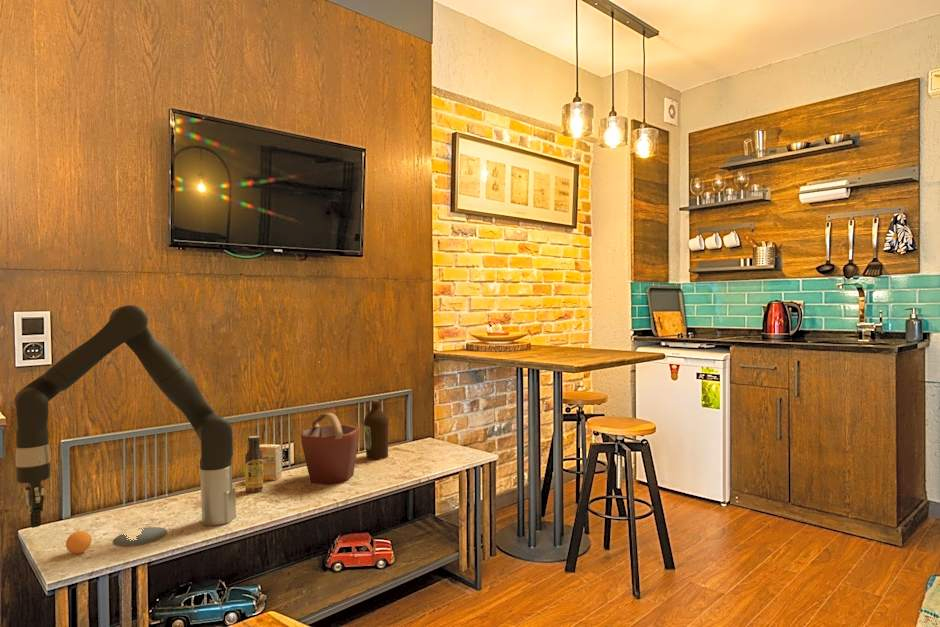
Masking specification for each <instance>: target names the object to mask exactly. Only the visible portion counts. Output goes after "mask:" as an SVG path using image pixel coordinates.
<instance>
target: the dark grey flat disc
mask: <svg viewBox="0 0 940 627" xmlns="http://www.w3.org/2000/svg"><path fill="white" fill-rule="evenodd" d="M142 528H143V529H144V530H143V529H142ZM141 529H142V532H141V533H142V534H140V535H138V536H136V537H137V538H136V539H137V540H134V539H133V540H134V541H133V540H131V539H130V540H131V541H130V540H129V539H128V538H129V537H128V538H126V537H127V535H126V536H125V535H124V534H123V533H121V534H119V535H117V536H116V537H115V538H113V540H112V542H113V544H114V545H115V544H116V545H115V546H118V545H122V546H121V547H132V546H131V545H135V546H141V545H145V543H146V544H148V543H149V544H150V543H152V542H155V541H157V539H158V540H160V539H161V537H162V538H163V537H164V536H166V535H167V531H168V530H167V529H166V528H164V527H161V526H160V527H159V526H150V527H149V526H148V527H141ZM122 534H123V535H122ZM159 538H160V539H159ZM127 539H128V540H127ZM140 544H141V545H140Z"/></svg>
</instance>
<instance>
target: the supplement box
mask: <svg viewBox="0 0 940 627" xmlns="http://www.w3.org/2000/svg"><path fill="white" fill-rule="evenodd" d="M259 446H260V450H261V452H262V455H263V481H277V480H280V479H281V478H282V477H283V476H282V444H268V443H267V444H264V443H263V444H262V443H261V444H259Z"/></svg>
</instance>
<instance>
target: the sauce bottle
mask: <svg viewBox="0 0 940 627" xmlns="http://www.w3.org/2000/svg"><path fill="white" fill-rule="evenodd" d="M260 440H261V437H260V435H250V436H248V438H247V441H248V449H247V452H246V454H245V463H244V487H245V492H246V493H258V492H262V490H263V486H264V480H263V455H262V452H261V450H260V446H259V445H260Z"/></svg>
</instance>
